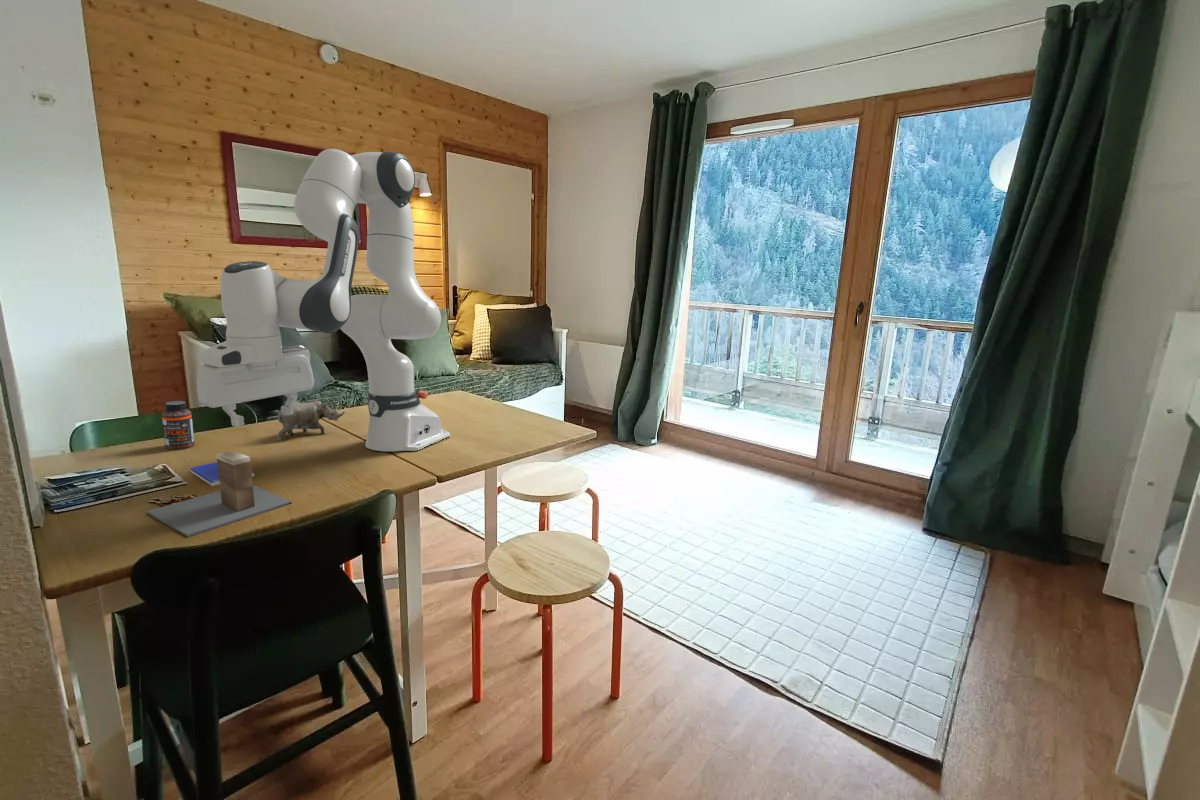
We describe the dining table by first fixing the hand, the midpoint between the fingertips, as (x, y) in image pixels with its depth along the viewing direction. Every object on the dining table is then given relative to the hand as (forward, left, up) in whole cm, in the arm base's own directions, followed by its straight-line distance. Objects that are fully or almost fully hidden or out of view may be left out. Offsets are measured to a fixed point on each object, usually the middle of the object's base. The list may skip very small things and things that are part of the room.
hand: (263, 420), depth 110 cm
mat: (+8, -2, -16) cm, 18 cm away
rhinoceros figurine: (-29, -34, -16) cm, 48 cm away
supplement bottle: (-4, -48, -16) cm, 51 cm away
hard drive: (-1, -21, -17) cm, 27 cm away
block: (+6, 0, -16) cm, 17 cm away
